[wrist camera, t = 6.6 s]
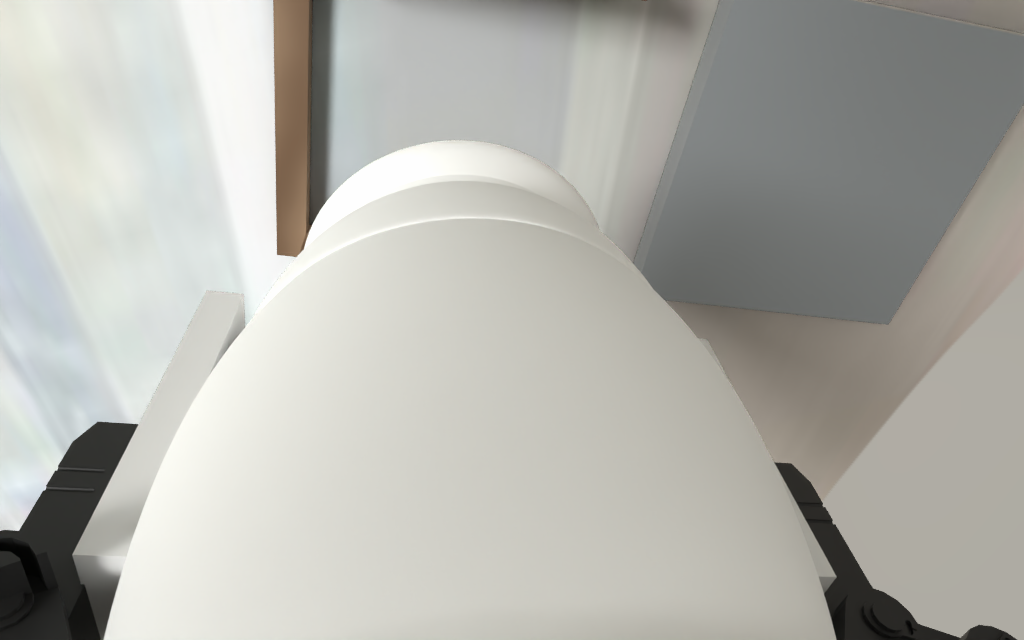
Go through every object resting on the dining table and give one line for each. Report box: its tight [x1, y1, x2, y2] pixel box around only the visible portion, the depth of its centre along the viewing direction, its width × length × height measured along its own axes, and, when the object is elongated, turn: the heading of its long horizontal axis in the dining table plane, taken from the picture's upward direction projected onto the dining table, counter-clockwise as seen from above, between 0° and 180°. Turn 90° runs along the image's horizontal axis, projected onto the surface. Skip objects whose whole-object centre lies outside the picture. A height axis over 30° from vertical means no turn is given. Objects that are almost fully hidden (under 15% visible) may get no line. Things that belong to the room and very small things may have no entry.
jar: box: [104, 140, 836, 640], centre depth 13 cm, size 11×10×15 cm
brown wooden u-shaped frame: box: [273, 0, 647, 257], centre depth 30 cm, size 14×16×4 cm
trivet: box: [633, 0, 1024, 325], centre depth 34 cm, size 16×16×2 cm
